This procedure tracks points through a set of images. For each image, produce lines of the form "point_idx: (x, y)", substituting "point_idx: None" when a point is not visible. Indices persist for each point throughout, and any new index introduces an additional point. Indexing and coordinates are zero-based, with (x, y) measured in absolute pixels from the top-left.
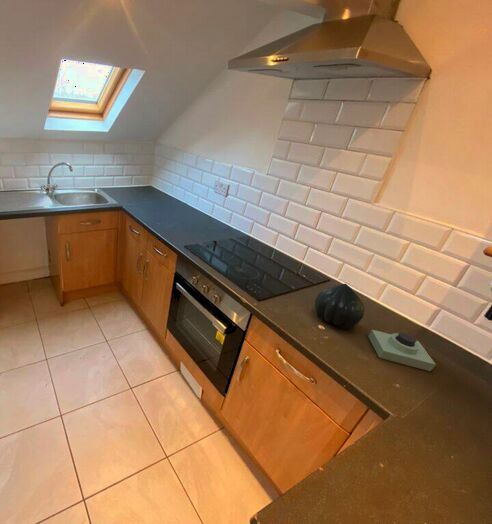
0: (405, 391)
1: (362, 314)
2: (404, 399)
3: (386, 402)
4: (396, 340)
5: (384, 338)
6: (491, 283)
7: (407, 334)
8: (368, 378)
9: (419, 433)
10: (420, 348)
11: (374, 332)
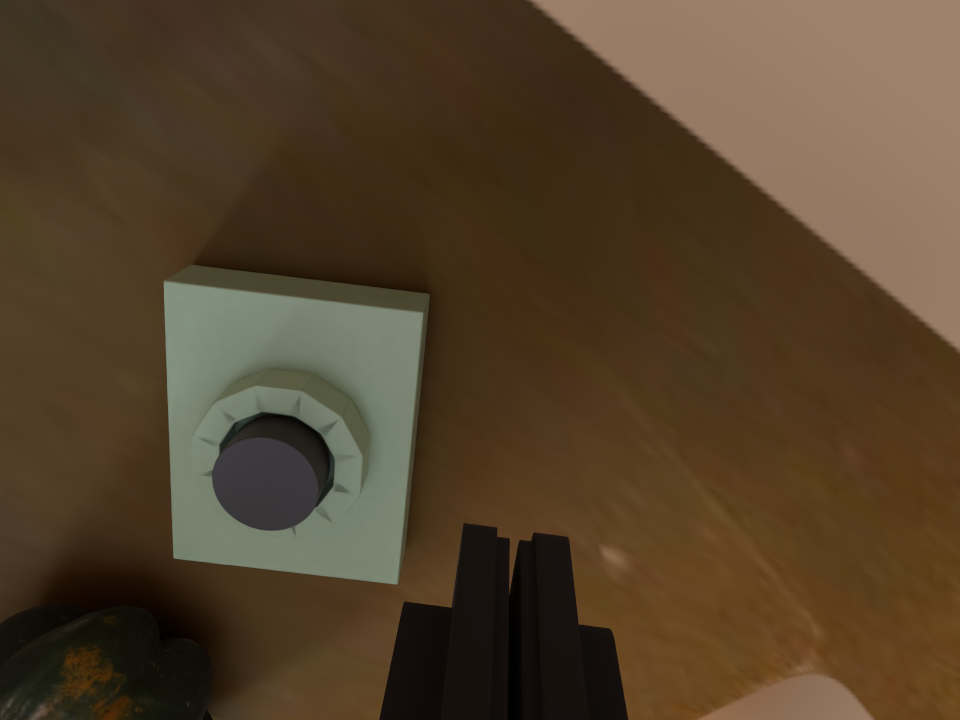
0: (651, 538)
1: (105, 682)
2: (709, 571)
3: (744, 659)
4: None
5: None
6: None
7: (221, 464)
8: None
9: (900, 608)
10: (262, 320)
11: (203, 555)
